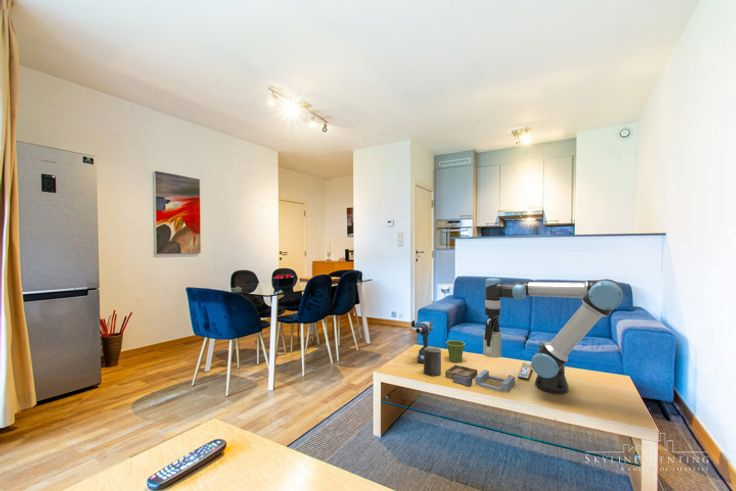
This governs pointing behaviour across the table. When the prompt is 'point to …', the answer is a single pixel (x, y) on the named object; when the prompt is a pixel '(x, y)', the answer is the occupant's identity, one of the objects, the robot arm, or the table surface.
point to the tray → (460, 372)
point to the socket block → (485, 375)
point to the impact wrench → (424, 337)
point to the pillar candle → (432, 361)
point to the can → (493, 345)
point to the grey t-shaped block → (462, 380)
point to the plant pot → (455, 350)
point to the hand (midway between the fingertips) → (492, 350)
